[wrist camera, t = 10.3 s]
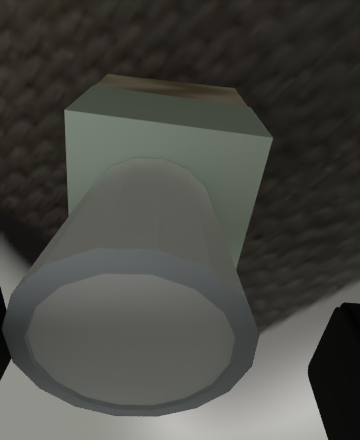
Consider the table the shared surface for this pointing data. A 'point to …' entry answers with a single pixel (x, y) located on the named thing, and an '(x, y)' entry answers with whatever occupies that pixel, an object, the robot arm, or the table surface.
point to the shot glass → (134, 299)
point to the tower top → (171, 147)
